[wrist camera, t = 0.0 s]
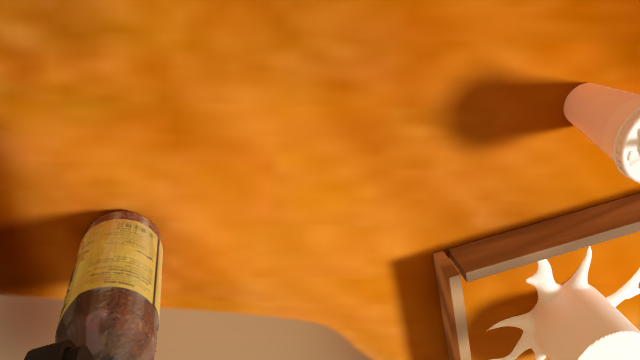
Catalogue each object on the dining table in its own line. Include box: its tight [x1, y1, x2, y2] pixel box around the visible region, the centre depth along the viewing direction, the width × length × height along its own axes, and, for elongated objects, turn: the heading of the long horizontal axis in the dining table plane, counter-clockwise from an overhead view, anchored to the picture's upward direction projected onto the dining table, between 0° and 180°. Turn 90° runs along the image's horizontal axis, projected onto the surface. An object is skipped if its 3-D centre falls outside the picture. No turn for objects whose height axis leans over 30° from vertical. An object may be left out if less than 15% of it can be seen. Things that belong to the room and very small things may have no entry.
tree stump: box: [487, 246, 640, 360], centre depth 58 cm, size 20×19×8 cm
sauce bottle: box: [55, 211, 163, 360], centre depth 40 cm, size 7×6×20 cm
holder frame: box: [433, 193, 640, 360], centre depth 59 cm, size 25×26×4 cm
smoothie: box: [564, 83, 640, 183], centre depth 45 cm, size 6×6×14 cm
